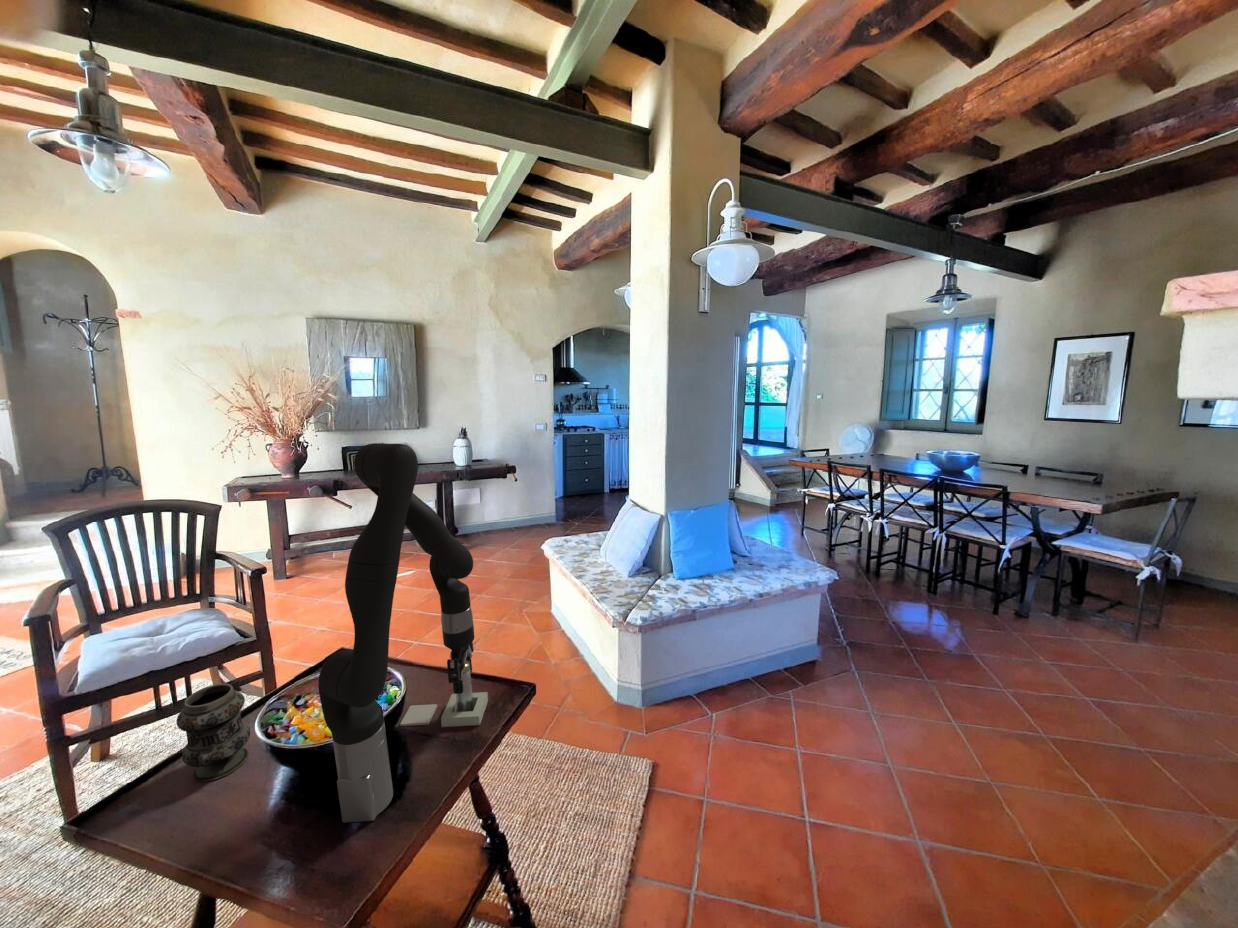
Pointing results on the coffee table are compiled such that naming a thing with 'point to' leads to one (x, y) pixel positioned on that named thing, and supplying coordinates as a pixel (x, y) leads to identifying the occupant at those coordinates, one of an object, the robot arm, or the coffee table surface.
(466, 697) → the steel pin
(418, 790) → the coffee table surface
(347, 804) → the robot arm
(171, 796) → the coffee table surface
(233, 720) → the apothecary jar
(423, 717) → the felt pad
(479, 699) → the collar
